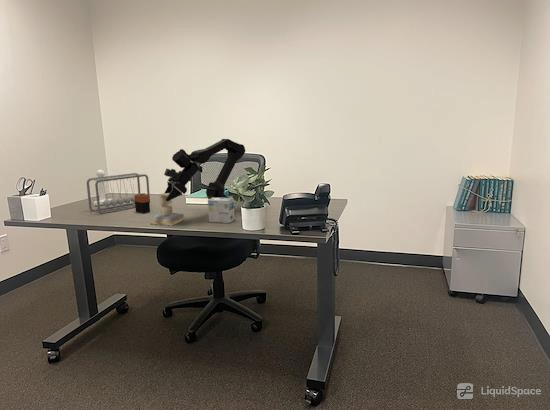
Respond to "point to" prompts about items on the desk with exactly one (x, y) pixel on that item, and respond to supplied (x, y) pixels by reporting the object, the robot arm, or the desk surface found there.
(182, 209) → the desk surface
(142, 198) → the battery
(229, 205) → the light bulb box
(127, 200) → the newton's cradle
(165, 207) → the birch snap block
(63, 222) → the desk surface
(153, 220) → the foundation plinth
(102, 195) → the joystick
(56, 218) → the desk surface
